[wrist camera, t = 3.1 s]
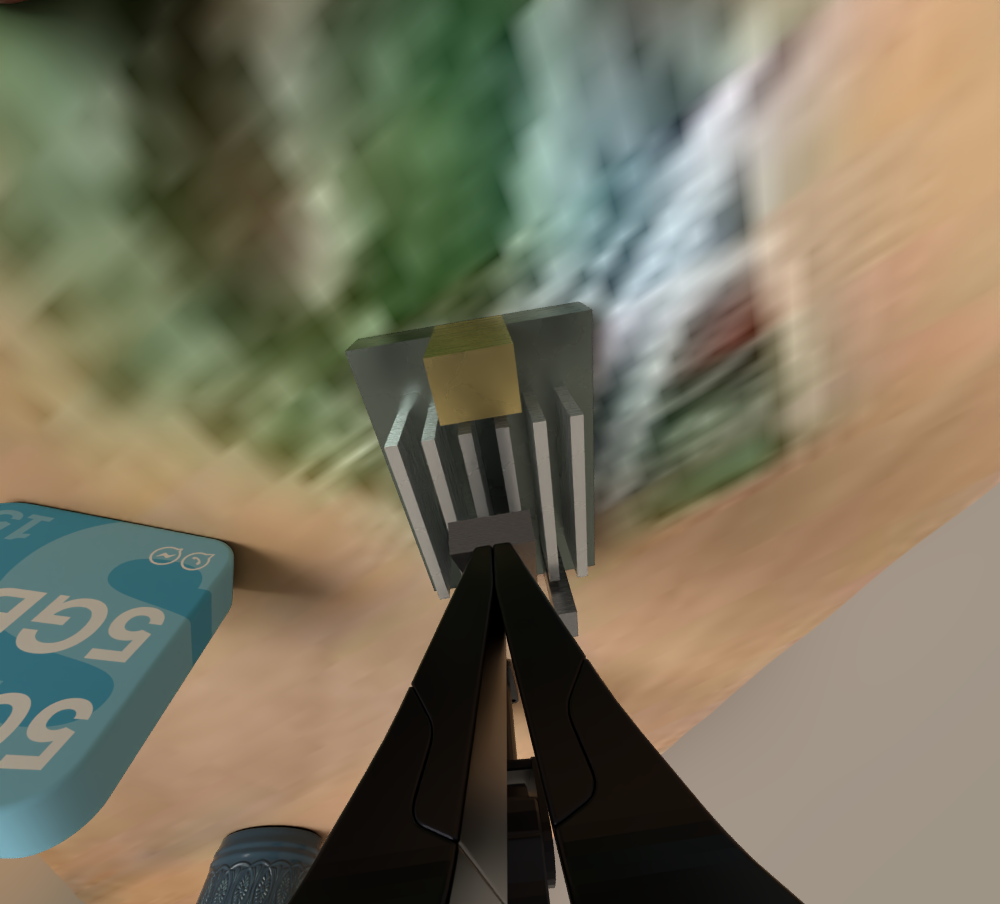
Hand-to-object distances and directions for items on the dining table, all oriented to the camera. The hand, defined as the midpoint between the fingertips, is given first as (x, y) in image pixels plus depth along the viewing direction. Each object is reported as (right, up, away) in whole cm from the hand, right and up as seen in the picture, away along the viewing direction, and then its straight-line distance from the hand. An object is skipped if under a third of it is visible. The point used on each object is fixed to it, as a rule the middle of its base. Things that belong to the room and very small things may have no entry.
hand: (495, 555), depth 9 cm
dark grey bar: (0, -2, +5) cm, 6 cm away
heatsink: (0, +2, +11) cm, 11 cm away
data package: (-22, -3, +13) cm, 25 cm away
